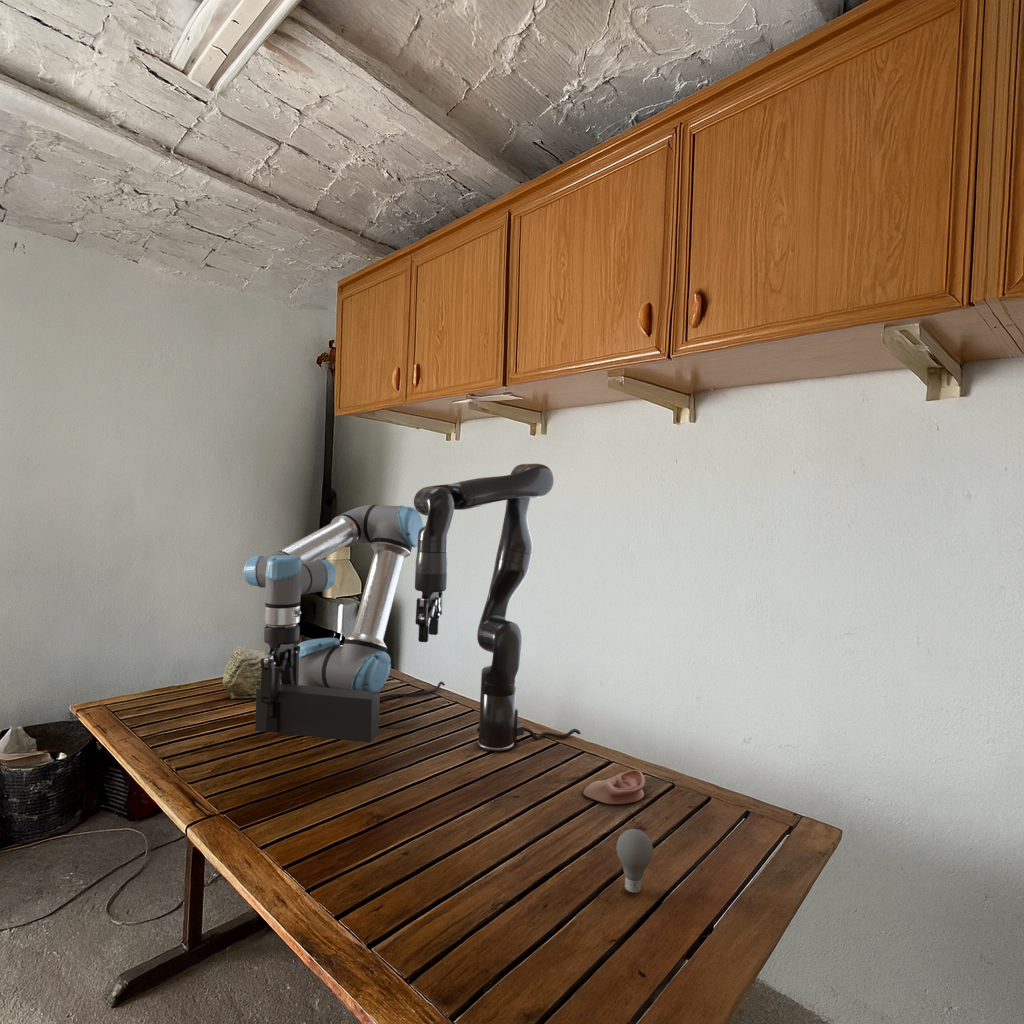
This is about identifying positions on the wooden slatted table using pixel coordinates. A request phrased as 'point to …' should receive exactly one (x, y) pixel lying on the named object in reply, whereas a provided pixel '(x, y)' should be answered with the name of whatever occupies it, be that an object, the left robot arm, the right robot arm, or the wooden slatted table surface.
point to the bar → (324, 713)
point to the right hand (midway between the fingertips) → (428, 638)
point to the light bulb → (634, 857)
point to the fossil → (244, 672)
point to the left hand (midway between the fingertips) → (279, 726)
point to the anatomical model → (618, 788)
